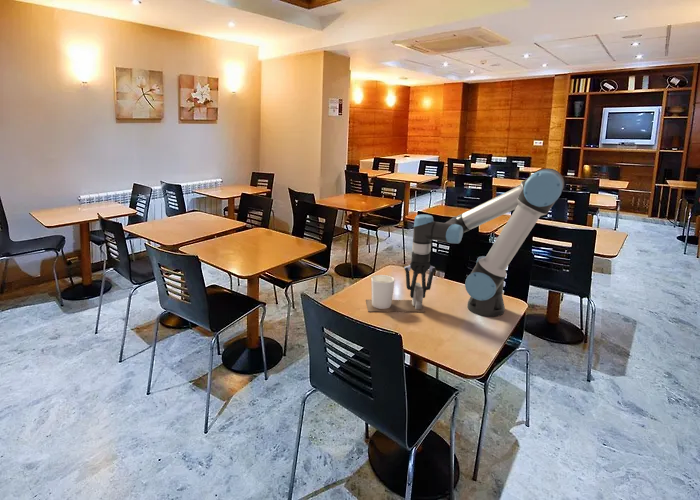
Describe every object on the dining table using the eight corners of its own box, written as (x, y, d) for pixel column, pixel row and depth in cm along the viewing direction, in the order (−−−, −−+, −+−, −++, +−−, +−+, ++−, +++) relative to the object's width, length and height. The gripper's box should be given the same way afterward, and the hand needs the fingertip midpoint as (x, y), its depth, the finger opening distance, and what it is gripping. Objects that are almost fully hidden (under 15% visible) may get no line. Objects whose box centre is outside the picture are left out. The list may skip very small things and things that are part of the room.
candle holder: (391, 311, 183) (393, 283, 180) (368, 308, 185) (369, 281, 182) (394, 302, 192) (395, 276, 189) (371, 299, 194) (373, 273, 191)
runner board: (419, 300, 196) (421, 281, 193) (425, 312, 184) (427, 291, 181) (365, 300, 194) (366, 280, 192) (368, 311, 183) (369, 290, 180)
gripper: (437, 249, 187) (432, 301, 194) (401, 249, 186) (397, 300, 193) (441, 254, 180) (436, 308, 186) (404, 254, 179) (400, 308, 185)
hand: (416, 304), depth 189 cm, fingers closed on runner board, 2 cm apart
